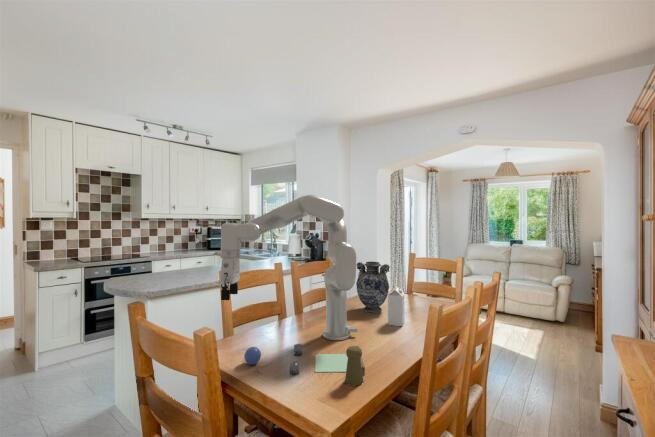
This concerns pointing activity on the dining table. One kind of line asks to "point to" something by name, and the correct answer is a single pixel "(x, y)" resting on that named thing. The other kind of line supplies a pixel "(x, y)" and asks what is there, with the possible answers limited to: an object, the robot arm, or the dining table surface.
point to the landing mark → (331, 363)
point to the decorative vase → (372, 285)
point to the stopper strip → (362, 366)
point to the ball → (252, 355)
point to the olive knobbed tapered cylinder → (354, 366)
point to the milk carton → (396, 307)
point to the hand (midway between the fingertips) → (229, 296)
